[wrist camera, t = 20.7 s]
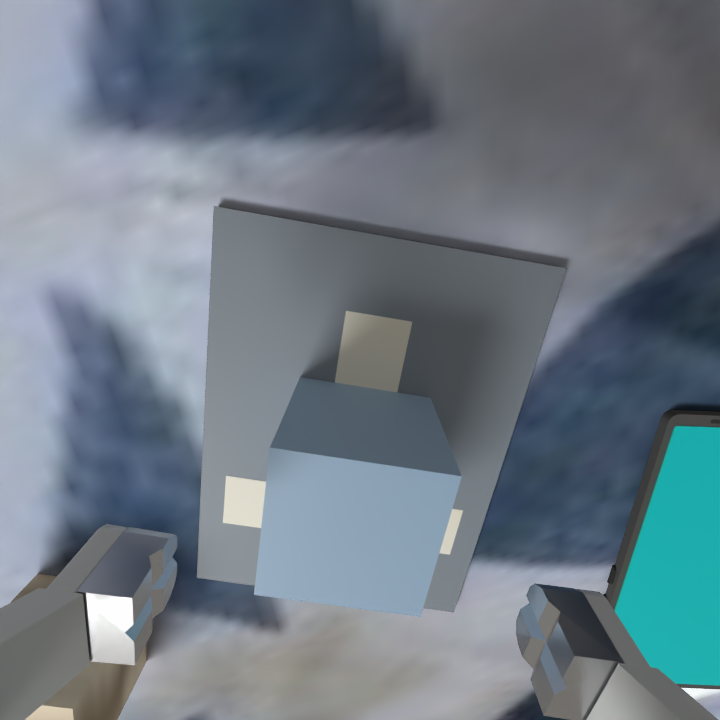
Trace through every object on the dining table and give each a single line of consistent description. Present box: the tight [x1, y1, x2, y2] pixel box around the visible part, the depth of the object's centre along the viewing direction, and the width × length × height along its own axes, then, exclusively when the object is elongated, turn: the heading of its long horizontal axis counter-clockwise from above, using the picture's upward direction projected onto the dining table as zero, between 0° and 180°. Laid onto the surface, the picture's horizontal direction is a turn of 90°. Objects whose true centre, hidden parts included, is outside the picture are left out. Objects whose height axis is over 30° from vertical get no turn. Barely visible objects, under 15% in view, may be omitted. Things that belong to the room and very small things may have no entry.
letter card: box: [197, 206, 567, 612], centre depth 16 cm, size 16×12×1 cm
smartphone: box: [603, 410, 720, 689], centre depth 18 cm, size 7×1×15 cm
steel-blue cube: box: [254, 377, 462, 617], centre depth 13 cm, size 5×5×5 cm
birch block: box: [11, 574, 146, 720], centre depth 17 cm, size 5×5×5 cm
